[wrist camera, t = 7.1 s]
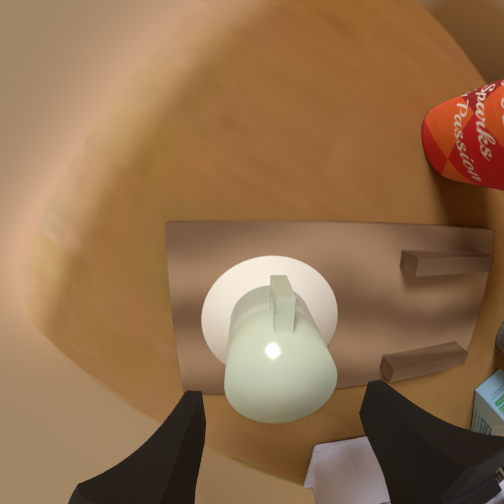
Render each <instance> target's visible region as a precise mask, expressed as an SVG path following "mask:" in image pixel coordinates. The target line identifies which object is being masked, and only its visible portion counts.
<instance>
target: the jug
mask: <svg viewBox="0 0 504 504" xmlns="http://www.w3.org/2000/svg"><path fill="white" fill-rule="evenodd" d="M336 383H337V369H336V366H335V363H334V361H333V359H332V357H331V355H330V352H329V350H328V348H327V346H326V344H325V342H324V340H323V338H322V336H321V334H320V331H319V329H318V327H317V325H316V323H315V321H314V319H313V317H312V315H311V313H310V311H309V309H308V307H307V305H306V303H305V301H304V300H303V299H302V298H301V296H300V295H298V294H297V293H296V292H294V291H293V289H292V287H291V284H290V282H289V280H288V278H287V275H270V285H268V286H262V287H258V288H255V289H253V290H251V291H249V292H247V293H246V294H245V295H243V296H242V297H241V298H240V299H239V300H238V301H237V303H236V304H235V306H234V308H233V310H232V313H231V317H230V326H229V337H228V347H227V358H226V369H225V380H224V389H225V394H226V397H227V399H228V401H229V403H230V404H231V405H232V407H233V408H234V409H235V410H236V411H238V412H239V413H240V414H242V415H243V416H245V417H247V418H250V419H252V420H255V421H259V422H264V423H286V422H291V421H295V420H299V419H301V418H304V417H306V416H308V415H310V414H312V413H313V412H315V411H316V410H318V409H319V408H320V407H322V406H323V405H324V404H325V403H326V402H327V400H328V399H329V398H330V396H331V395H332V393H333V391H334V389H335V386H336Z"/></svg>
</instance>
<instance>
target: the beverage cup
mask: <svg viewBox="0 0 504 504" xmlns="http://www.w3.org/2000/svg"><path fill="white" fill-rule="evenodd" d="M496 347H497V348H498V349H499V350H500V351H501V352H502V353H503V355H504V322H503V324H502V325H501V327H500V329H499V331H498V334H497V337H496Z"/></svg>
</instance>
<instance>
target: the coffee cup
mask: <svg viewBox="0 0 504 504" xmlns="http://www.w3.org/2000/svg"><path fill="white" fill-rule="evenodd" d="M422 143H423V148H424V151H425V154H426V156H427V159H428V161H429V162H430V164H431V166H432V167H433V168H434V169H435V171H436V172H438V173H439V174H440V175H441V176H443V177H445V178H447V179H450V180H454V181H459V182H464V183H469V184H474V185H479V186H484V187H489V188H494V189H499V190H503V191H504V79H502V80H499V81H497V82H494V83H491V84H488V85H486V86H483V87H481V88H478V89H475V90H473V91H470V92H468V93H465V94H463V95H461V96H458V97H456V98H453V99H451V100H449V101H446V102H444V103H442V104H440V105H438V106H436V107H434V108H433V109H431V110H430V111H429V112H428V113H427V115H426V116H425V118H424V121H423V125H422Z"/></svg>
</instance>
